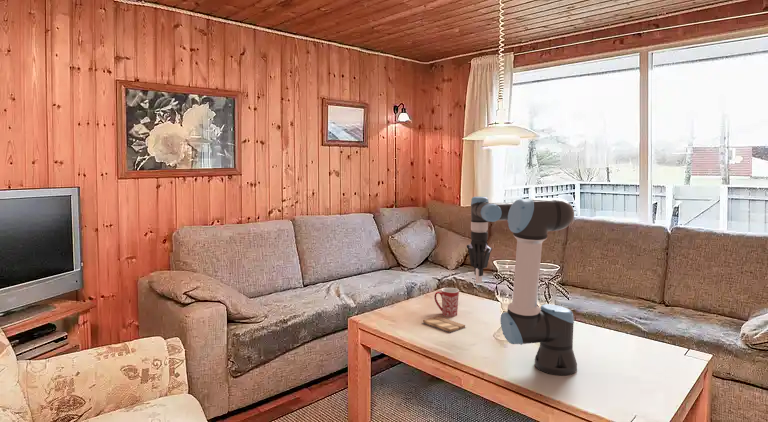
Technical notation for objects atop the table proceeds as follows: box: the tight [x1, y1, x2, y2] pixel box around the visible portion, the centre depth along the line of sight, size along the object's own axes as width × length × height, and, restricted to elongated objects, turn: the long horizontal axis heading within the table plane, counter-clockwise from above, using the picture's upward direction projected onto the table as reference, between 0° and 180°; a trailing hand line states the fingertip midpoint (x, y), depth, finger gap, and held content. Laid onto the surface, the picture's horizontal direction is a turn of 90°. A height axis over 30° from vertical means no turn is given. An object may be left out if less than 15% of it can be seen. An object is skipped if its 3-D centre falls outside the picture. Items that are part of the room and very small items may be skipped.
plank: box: [422, 317, 460, 332], centre depth 231 cm, size 17×6×1 cm, turn 40°
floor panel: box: [421, 315, 467, 334], centre depth 233 cm, size 18×11×2 cm, turn 40°
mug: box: [433, 287, 460, 318], centre depth 249 cm, size 13×9×14 cm
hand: (478, 282), depth 226 cm, fingers closed
